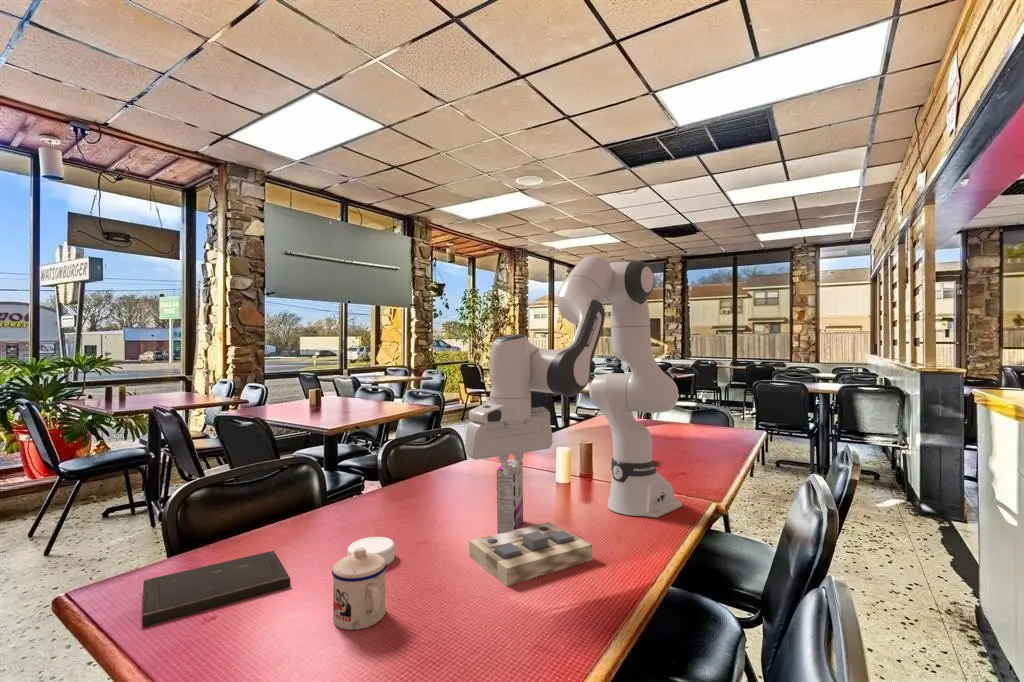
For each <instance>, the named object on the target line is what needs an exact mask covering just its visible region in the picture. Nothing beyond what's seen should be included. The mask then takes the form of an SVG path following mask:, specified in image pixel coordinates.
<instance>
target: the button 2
mask: <svg viewBox="0 0 1024 682" xmlns="http://www.w3.org/2000/svg"><path fill="white" fill-rule="evenodd" d="M548 539H549V540H551V541H553V542H555V543H556V544H558V545H560V544H564V543H568V542H571V541H573V536H572V535H570V534H568V533H566V532H564V531H559V532H555V533H551V534H548Z"/></svg>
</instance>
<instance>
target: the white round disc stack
mask: <svg viewBox="0 0 1024 682" xmlns="http://www.w3.org/2000/svg"><path fill="white" fill-rule="evenodd" d="M395 547H396V545H395V542H394V541H393V540H392V539H390V538H388V537H384V536H370V537H364V538H360V539H358V540H356V541H353V542H352V543H351V544H350V545H349V546H348V547H347V556H350V555H352V554H354V550H355V549H357V548H365V550H366V552H368V553H372V554H377V555H380V556H382V557H383V558H384V559H385V561H386V563H387V566H388V565H389V564H391V563H392V562H393V561H394V559H395V552H396V549H395ZM347 556H346V557H347Z"/></svg>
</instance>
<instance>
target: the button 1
mask: <svg viewBox="0 0 1024 682" xmlns="http://www.w3.org/2000/svg"><path fill="white" fill-rule="evenodd" d="M495 553H496V554H497V555H498V556H500V557H501V558H503V559H504V560H505V559H509V558H512V557H516V556H520V555H521V549H519V548H517V547H516V546H514V545H513V544H507V545H503V546H499V547H495Z"/></svg>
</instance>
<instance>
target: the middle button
mask: <svg viewBox="0 0 1024 682" xmlns="http://www.w3.org/2000/svg"><path fill="white" fill-rule="evenodd" d="M523 546H524V547H525V548H527V549H529V550H530V551H532V552H535V551H538V550H542V549H546V548H548V537H547V536H545V535H544V534H542V533H540V532H538V531H536V532H532V533H528V534H524V535H523Z"/></svg>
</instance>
